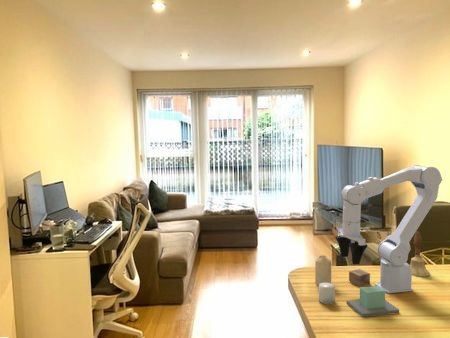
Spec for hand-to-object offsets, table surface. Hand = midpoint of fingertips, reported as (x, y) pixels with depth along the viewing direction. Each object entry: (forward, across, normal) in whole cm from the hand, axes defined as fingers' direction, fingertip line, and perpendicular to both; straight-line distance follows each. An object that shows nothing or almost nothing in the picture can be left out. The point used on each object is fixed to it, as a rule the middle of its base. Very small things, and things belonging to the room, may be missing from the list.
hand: (350, 260), depth 125 cm
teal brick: (+9, +14, 0) cm, 17 cm away
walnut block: (+10, -5, +7) cm, 13 cm away
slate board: (+10, +14, 0) cm, 18 cm away
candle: (+11, -7, -6) cm, 14 cm away
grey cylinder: (+11, +6, -11) cm, 17 cm away
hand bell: (+10, -9, +34) cm, 36 cm away
